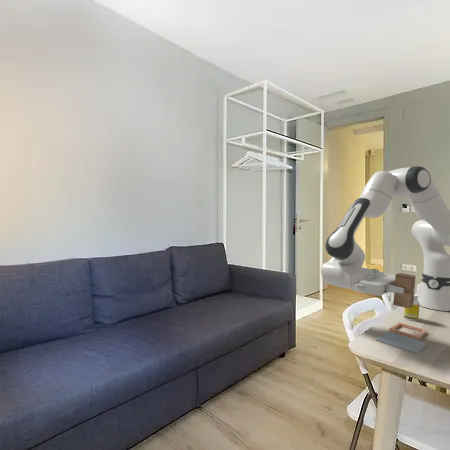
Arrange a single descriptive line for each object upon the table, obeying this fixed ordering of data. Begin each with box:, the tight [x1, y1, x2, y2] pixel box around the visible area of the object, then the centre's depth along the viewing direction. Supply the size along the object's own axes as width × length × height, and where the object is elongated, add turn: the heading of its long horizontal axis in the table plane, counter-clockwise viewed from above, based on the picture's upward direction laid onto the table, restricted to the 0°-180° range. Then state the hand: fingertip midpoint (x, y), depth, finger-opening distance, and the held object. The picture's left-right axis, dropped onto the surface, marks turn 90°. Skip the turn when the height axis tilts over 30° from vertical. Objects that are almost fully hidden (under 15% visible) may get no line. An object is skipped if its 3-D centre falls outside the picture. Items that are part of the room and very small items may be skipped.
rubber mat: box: [375, 330, 428, 355], centre depth 100 cm, size 10×12×1 cm
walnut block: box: [392, 272, 417, 308], centre depth 101 cm, size 4×4×10 cm
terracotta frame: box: [388, 322, 427, 341], centre depth 109 cm, size 9×9×1 cm
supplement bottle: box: [402, 293, 420, 322], centre depth 122 cm, size 5×5×10 cm
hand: (407, 289), depth 100 cm, fingers closed on walnut block, 4 cm apart
